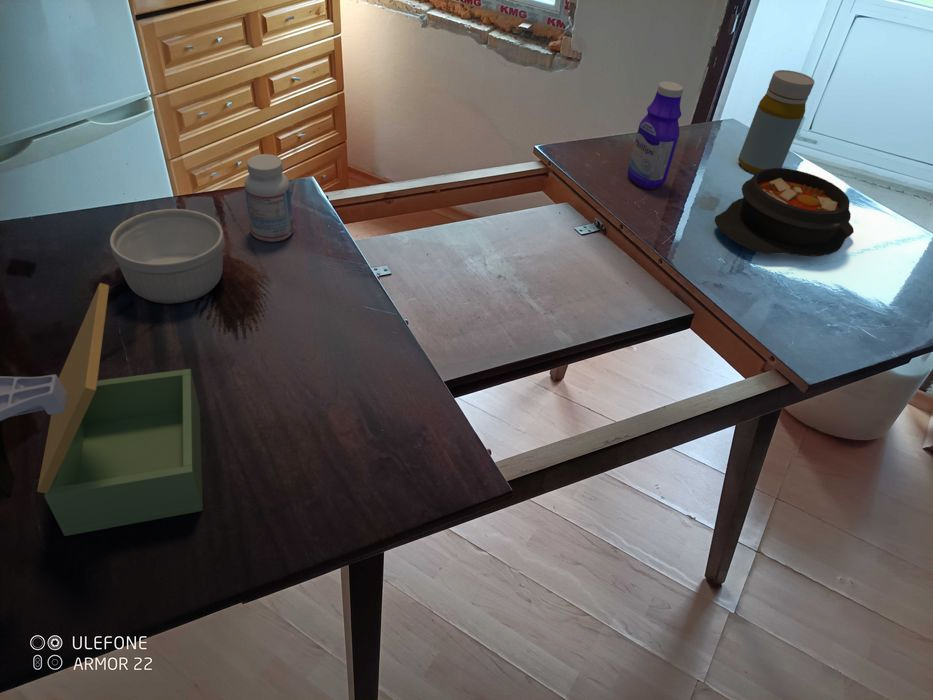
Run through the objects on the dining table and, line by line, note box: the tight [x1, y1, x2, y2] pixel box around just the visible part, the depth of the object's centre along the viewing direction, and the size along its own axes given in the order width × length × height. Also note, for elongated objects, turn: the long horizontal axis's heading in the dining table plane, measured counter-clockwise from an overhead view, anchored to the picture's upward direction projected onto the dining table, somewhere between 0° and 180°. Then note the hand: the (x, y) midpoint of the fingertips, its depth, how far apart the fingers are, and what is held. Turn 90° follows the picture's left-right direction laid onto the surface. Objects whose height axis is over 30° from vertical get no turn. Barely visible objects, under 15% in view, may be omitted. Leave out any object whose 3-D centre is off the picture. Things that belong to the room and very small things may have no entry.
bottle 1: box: [627, 81, 684, 190], centre depth 119 cm, size 7×6×17 cm
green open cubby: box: [43, 368, 204, 537], centre depth 65 cm, size 12×14×6 cm
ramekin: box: [109, 208, 225, 305], centre depth 88 cm, size 13×13×7 cm
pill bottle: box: [244, 153, 294, 243], centre depth 97 cm, size 6×6×11 cm
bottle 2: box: [737, 69, 815, 175], centre depth 128 cm, size 8×8×17 cm
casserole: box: [714, 168, 854, 257], centre depth 111 cm, size 25×19×8 cm
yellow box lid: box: [36, 282, 110, 494], centre depth 59 cm, size 12×14×1 cm
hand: (2, 489), depth 52 cm, fingers closed
